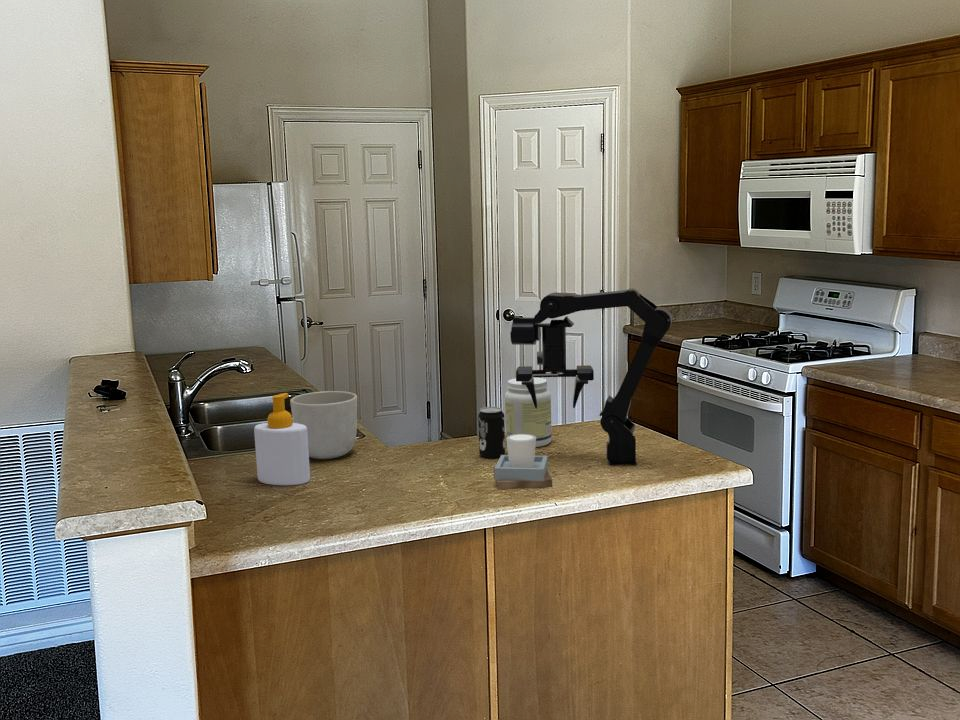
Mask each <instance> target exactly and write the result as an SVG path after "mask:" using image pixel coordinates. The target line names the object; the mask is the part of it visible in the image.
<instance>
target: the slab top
mask: <svg viewBox="0 0 960 720" xmlns="http://www.w3.org/2000/svg"><path fill="white" fill-rule="evenodd" d="M548 458H549V456H548V455H535V459H534V468H516V467H510V466H509V457H508V454H504V455H501V456H500V458H498V461H497V463H496V465H495V466H494V467H495V475H494V480H495V481H496V480H521V481H544V479H545V475H546V472H547V471H548V468H549V464H548V463H549V459H548Z"/></svg>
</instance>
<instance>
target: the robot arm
mask: <svg viewBox="0 0 960 720" xmlns="http://www.w3.org/2000/svg"><path fill="white" fill-rule="evenodd" d="M622 307H624V308H625V307H627V308H628V309H630V310H631V311H632V312H633V313H634V314H635V315H636V316H637V317H639V319H640V320H642V321H643V322H644V326H643V330H642V334H641V339H640V343H639V346H638V348H637V350H636V352H635V355H634V357H633V359H632V360H631V363H630V365H629V368H628V369H627V372H626V374H625V376H624V379H622V380H623V381H622V382H621V385H620V387H619V390H618V391H617V393H616V394H615V396H614V397H612V396H611V395H608V396H607V398H606V400H605V403H604V406H603V408H602V409H601V410H600V413H599V417H601V418H600V421H599V422H600V426H601V428H602V429H603V431H604V432H606V433H607V435H608V441H606V444H605V445H606V447H605V448H606V450H605V451H606V455H605V456H606V461H607V462H608V464H609V466H636V465H638V462H637V458H636V457H637V456H636V455H637V454H636V453H637V448H636V447H637V445H636V444H637V443H636V442H637V438H636V436H635V435H634V432H635V429H636V424H635V423H634V422H633V421H632V420H631V419H629V417H628V416H629V411H630V408H631V403H632V399H633V396H634V395H635V392H636V390H637V388H638V385H639V383H640V381H641V379H642V376H643V375H644V372H645V370H646V368H647V366H648V364H649V361H650V360H651V357H652V355H653V353H654V351H655V349H656V348H657V346H658V345H659V344H660V342H661V341H662V340H663V338H664V336H665V335H666V334H667V332H668V331H669V330H670V328H671V325H672V322H673V315H672V313H671V312H670V311H669V309H667V308H666V307H662V306H657V305H656V304H655V303H654V302H652V301H651V300H650V299H648V298H646V297H645V296H644V295H642V294H641V293H639V291H638V290H637V289H635V288H628V289H621V290H613V291H605V292H604V291H603V292H595V293H594V292H593V293H585V294H575V293H567V292H551V293H548V294H547V295H545V296H544V297H543V298H542V299H541V300H540V302H539V310H538V312H537V313H536V314H535V315H534V317H522V316H513V317H512V323H511V330H510V335H509V336H510V343H511V345H513V346H514V345H515V346H517V345H520V346H522V345H523V346H524V345H525V346H528V345H529V346H535V345H536V344H537V342H538V341H539V342H540V341H541V340H542V342H541V343H542V344H541V345H542V346H541V347H542V351H536V365H537V366H542V369H533V365H532V366H529V365H527V366H526V365H525V366H522V365H521V366H518V367H517V368H516V369H515V378H516V381H522V382H521V384H522V385H526V387H527V389H528V391H529V393H530V395H531V397H532V400H533V403H534V406H535V408H536V409H537V398H536V392H535V385H534V378H533V377H536V378H574V379H575V380H574V389H573V395H572V397H573V398H572V408H573V409H576V405H577V403H578V399H579V396H580V394H581V392H582V389H583V387H584V386H585V385H588V384H589V381H594V379H595V377H594V376H595V375H594V368H593V367H592V366H591V365H587V364H586V365H576V368H573V369H569V368H567V338H566V337H567V335H566V334H567V328H572V327H573V326H574V325H575V323H574V322H573V321H572V320H571V319H570V318H569V316H567V315H570V314H574V313H578V312H581V311H590V310H603V309H612V308H613V309H614V308H622ZM564 316H565V317H564ZM560 317H564V318H563V319H556V318H560ZM547 319H551V320H550V322H549V323H547V322H546V323H545V322H544V321H546V320H547ZM543 322H544V323H543Z"/></svg>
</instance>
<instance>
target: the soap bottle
mask: <svg viewBox="0 0 960 720" xmlns="http://www.w3.org/2000/svg"><path fill="white" fill-rule="evenodd" d="M288 397H289V393H288V392H284V393H279V394H276V395H273V396H272V410H273V411H272V412H270V413H269V414H268V416H267V422H264V423H263V422H262V423H259V424H256V425H255V426H254V428H253V430H254V431H253V433H254V434H253V436H254V446H255V447H254V448H255V461H256V462H255V463H256V473H257V474H256V475H257V480H258V481H259V482H260V483H263V484H266V485H270V486H271V485H273V486H297V485H305V484H306V483H309V481H310V480H311V471H310V469H311V468H310V467H311V466H310V457H309V452H308V436H307V427H306V426H305V425H303V424H298V423H293V417H292V413H291V412H289V411H287V410H286V407H285V399H288Z"/></svg>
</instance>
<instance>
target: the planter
mask: <svg viewBox="0 0 960 720" xmlns="http://www.w3.org/2000/svg"><path fill="white" fill-rule="evenodd" d="M289 401H290V409H291V416H292V423H298V424H303V425H305V426H306V427H307V436H308V452H309V459H310V458H311V459H316V460H331V459H336V458H341V457H343V456H345V455H346V454H348V453H349V452H350V451H351V450H352V449H353V448H354V445H355V442H356V439H357V433H358V432H357V424H358V395H357V394H356V393H355V392H349V391H341V390H337V391H336V390H327V391H326V390H325V391H324V390H323V391H315V392H308V393H302V394H299V395H296V396H295V395H294V397H291V398H290V400H289Z"/></svg>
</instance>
